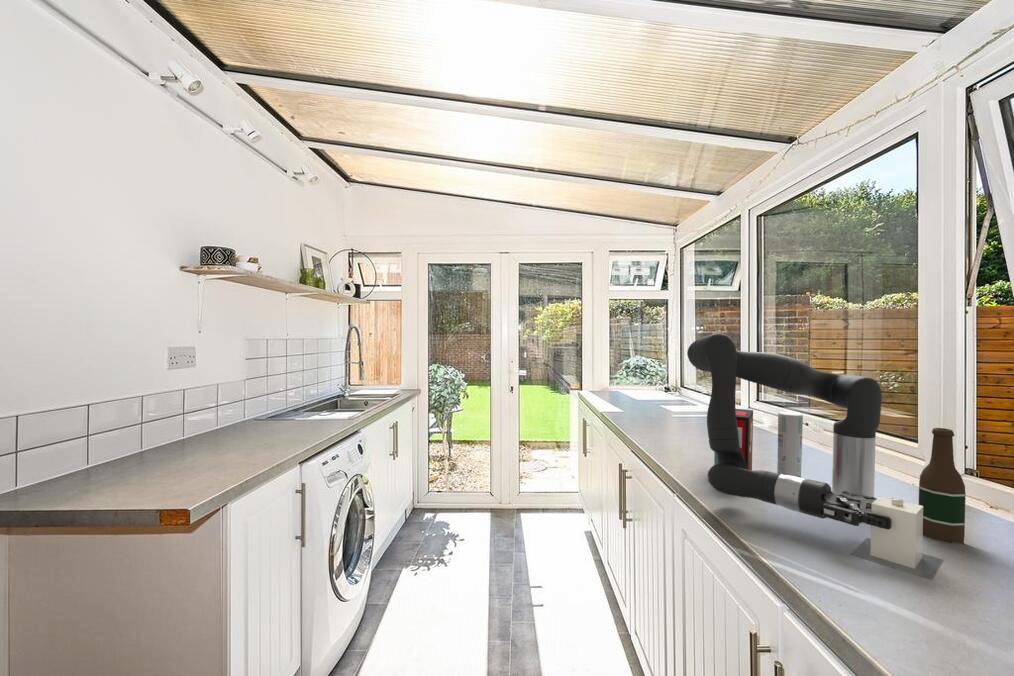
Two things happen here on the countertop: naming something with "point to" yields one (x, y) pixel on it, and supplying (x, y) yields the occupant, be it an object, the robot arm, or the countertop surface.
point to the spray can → (789, 443)
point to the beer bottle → (942, 492)
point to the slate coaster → (923, 569)
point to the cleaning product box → (745, 434)
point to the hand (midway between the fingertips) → (896, 518)
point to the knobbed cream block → (898, 532)
